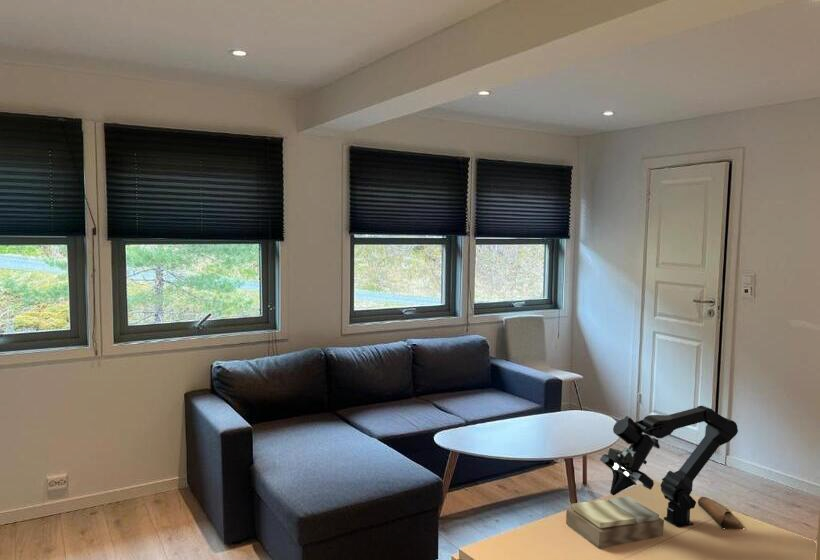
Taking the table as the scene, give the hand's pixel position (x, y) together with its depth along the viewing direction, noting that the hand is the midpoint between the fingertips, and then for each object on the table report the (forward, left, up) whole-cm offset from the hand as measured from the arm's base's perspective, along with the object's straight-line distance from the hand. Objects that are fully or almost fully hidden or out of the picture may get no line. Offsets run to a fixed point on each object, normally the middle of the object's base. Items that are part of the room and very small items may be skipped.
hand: (611, 494), depth 184 cm
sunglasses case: (-42, +4, -12) cm, 44 cm away
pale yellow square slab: (+3, 0, -6) cm, 7 cm away
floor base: (-1, 0, -12) cm, 12 cm away
